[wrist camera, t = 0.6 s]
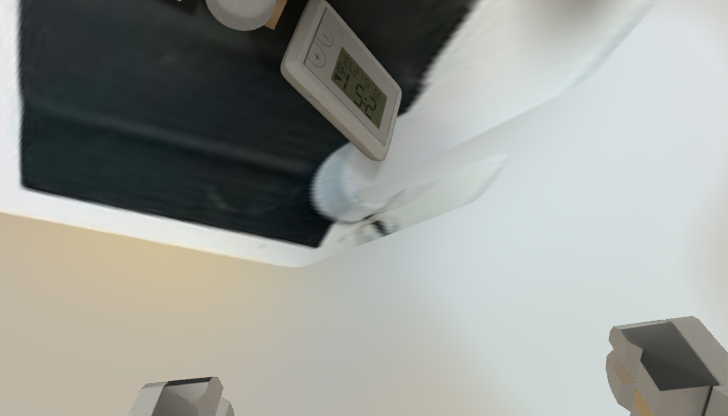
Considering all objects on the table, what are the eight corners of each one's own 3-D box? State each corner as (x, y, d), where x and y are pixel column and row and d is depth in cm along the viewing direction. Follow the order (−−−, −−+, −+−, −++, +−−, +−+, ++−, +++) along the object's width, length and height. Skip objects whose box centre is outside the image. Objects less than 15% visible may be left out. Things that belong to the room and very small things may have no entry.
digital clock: (405, 95, 61) (417, 150, 54) (341, 123, 64) (344, 180, 56) (344, -25, 50) (349, 24, 43) (269, 15, 53) (262, 68, 45)
